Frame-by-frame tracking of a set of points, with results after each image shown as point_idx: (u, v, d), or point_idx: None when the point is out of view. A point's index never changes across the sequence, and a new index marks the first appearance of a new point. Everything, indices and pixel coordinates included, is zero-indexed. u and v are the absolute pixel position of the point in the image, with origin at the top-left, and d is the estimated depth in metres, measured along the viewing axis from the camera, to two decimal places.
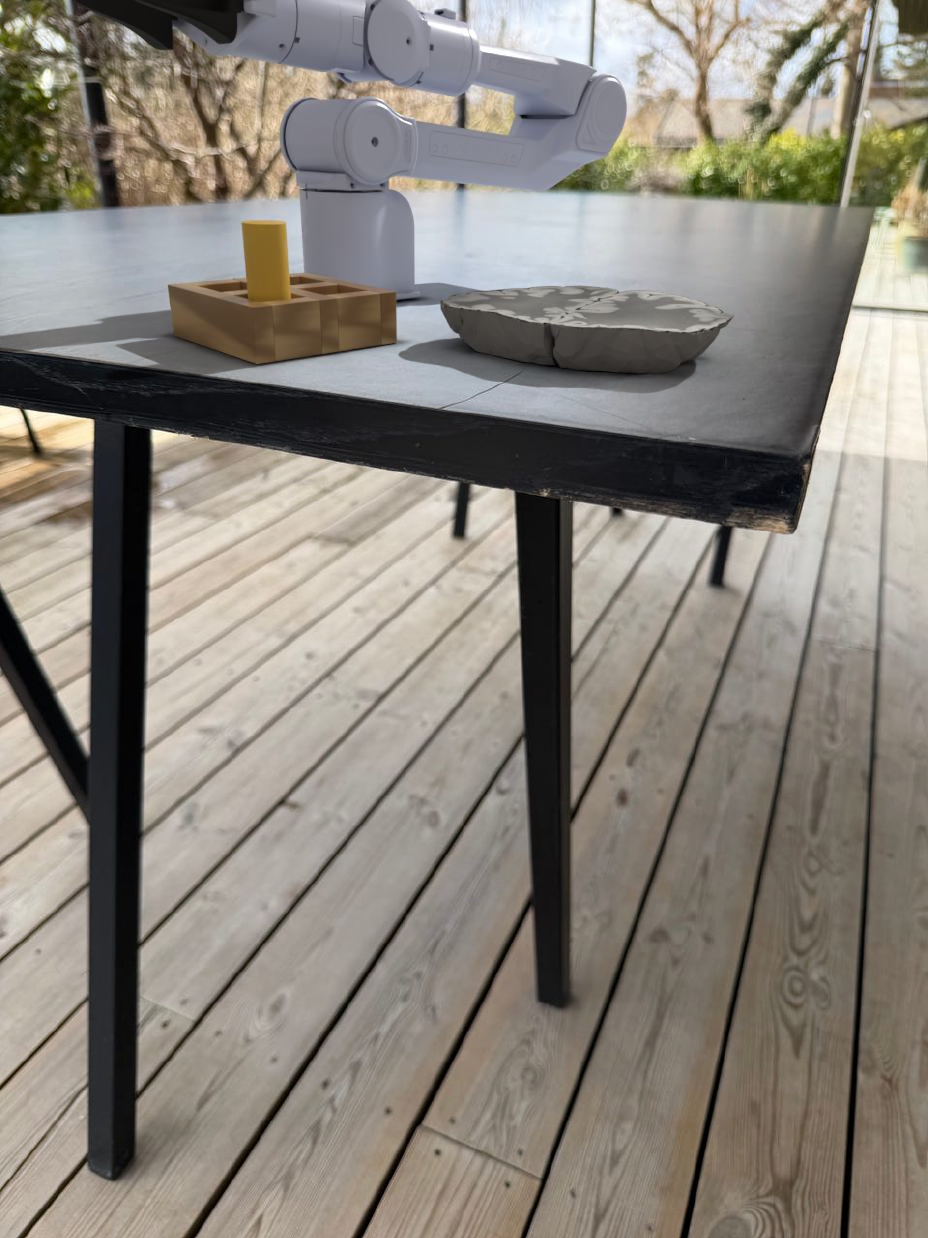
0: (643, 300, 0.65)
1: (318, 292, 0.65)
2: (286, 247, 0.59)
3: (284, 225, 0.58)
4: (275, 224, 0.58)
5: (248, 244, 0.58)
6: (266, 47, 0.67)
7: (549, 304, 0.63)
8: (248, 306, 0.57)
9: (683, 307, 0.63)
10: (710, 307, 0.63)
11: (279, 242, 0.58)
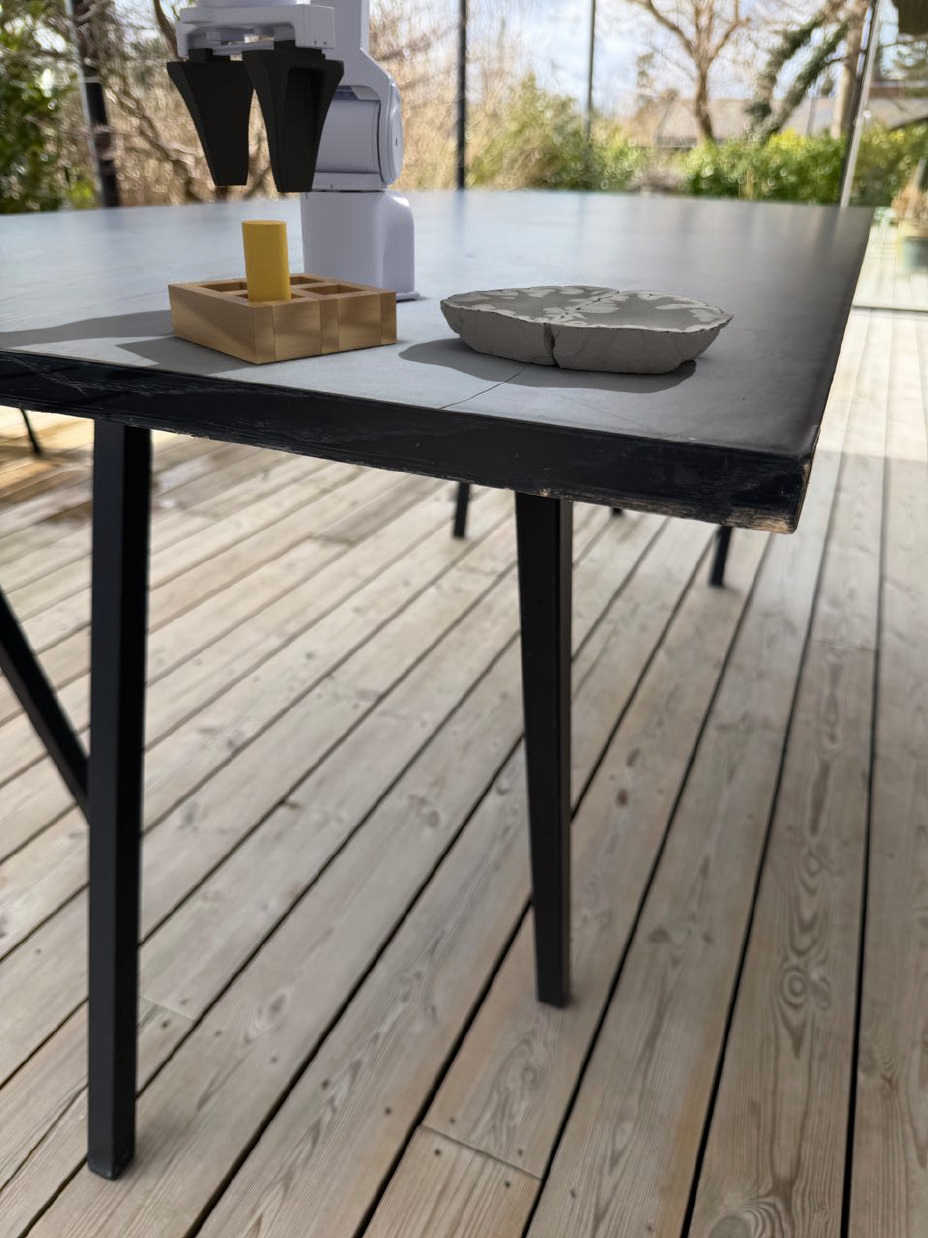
0: (643, 300, 0.65)
1: (318, 292, 0.65)
2: (286, 247, 0.59)
3: (284, 225, 0.58)
4: (275, 224, 0.58)
5: (248, 244, 0.58)
6: None
7: (549, 304, 0.63)
8: (248, 306, 0.57)
9: (683, 307, 0.63)
10: (710, 307, 0.63)
11: (279, 242, 0.58)
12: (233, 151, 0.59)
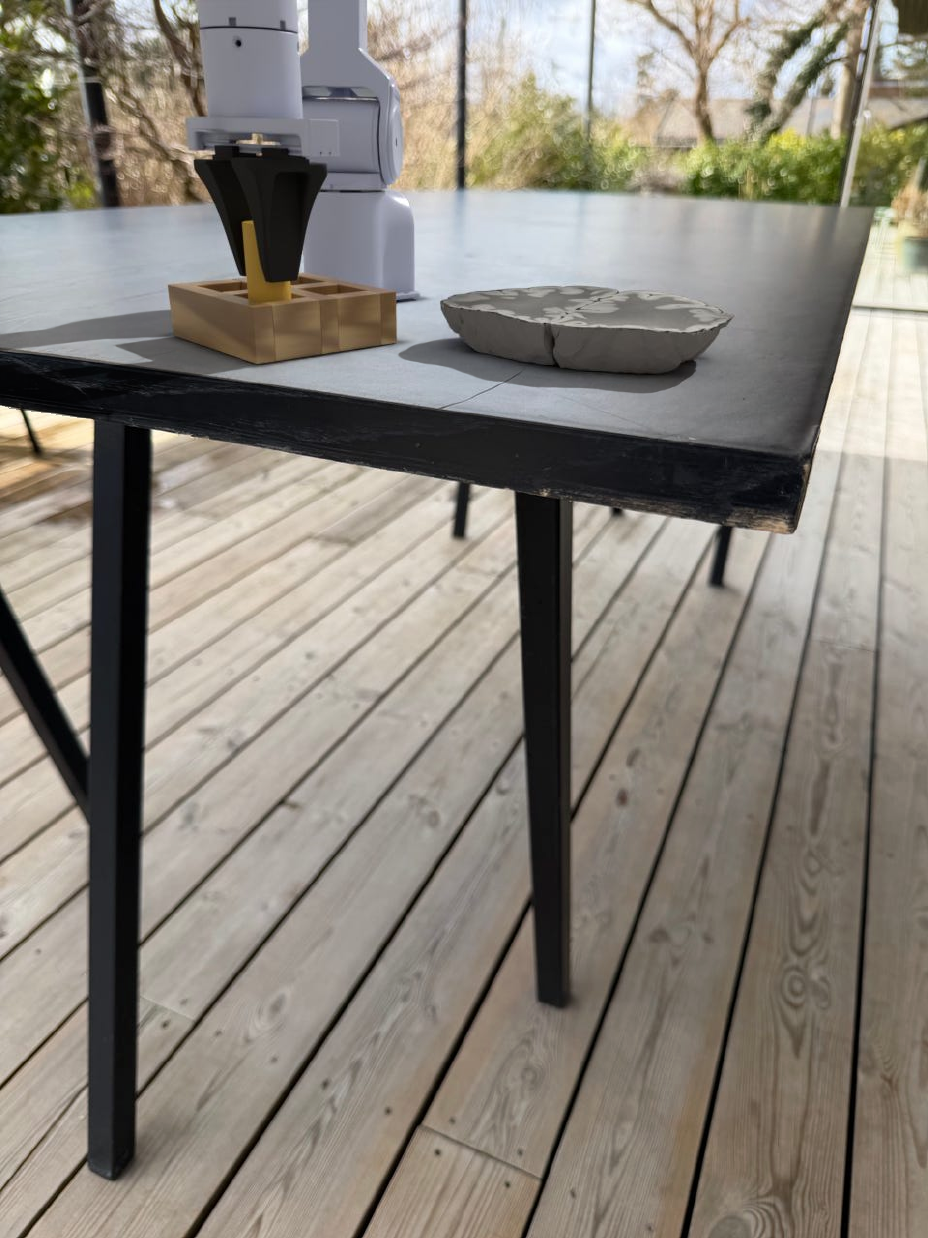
0: (643, 300, 0.65)
1: (318, 292, 0.65)
2: None
3: None
4: None
5: (248, 244, 0.58)
6: (300, 72, 0.55)
7: (549, 304, 0.63)
8: (248, 306, 0.57)
9: (683, 307, 0.63)
10: (710, 307, 0.63)
11: None
12: None
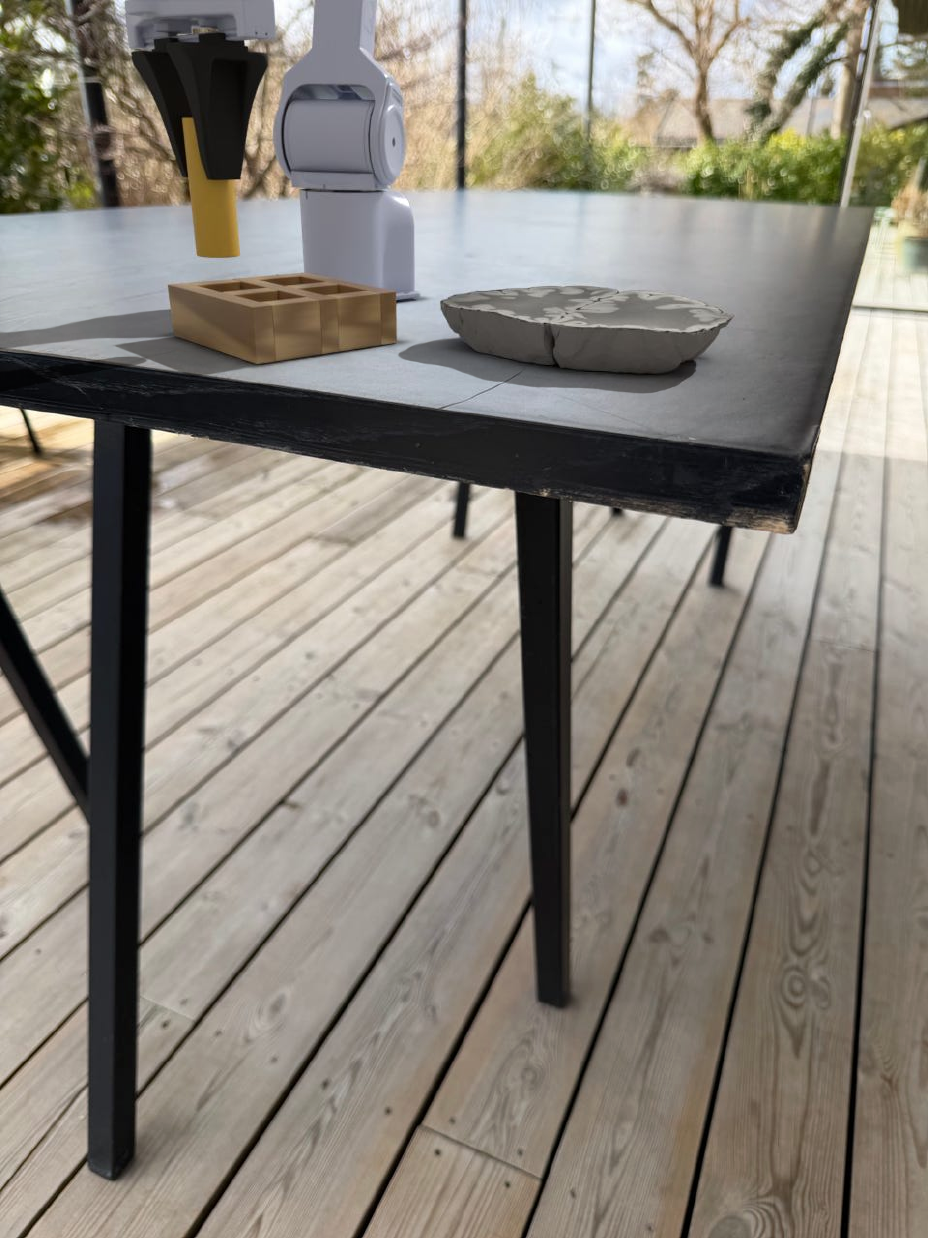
0: (643, 300, 0.65)
1: (318, 292, 0.65)
2: None
3: None
4: None
5: (189, 140, 0.56)
6: None
7: (549, 304, 0.63)
8: (248, 306, 0.57)
9: (683, 307, 0.63)
10: (710, 307, 0.63)
11: None
12: None
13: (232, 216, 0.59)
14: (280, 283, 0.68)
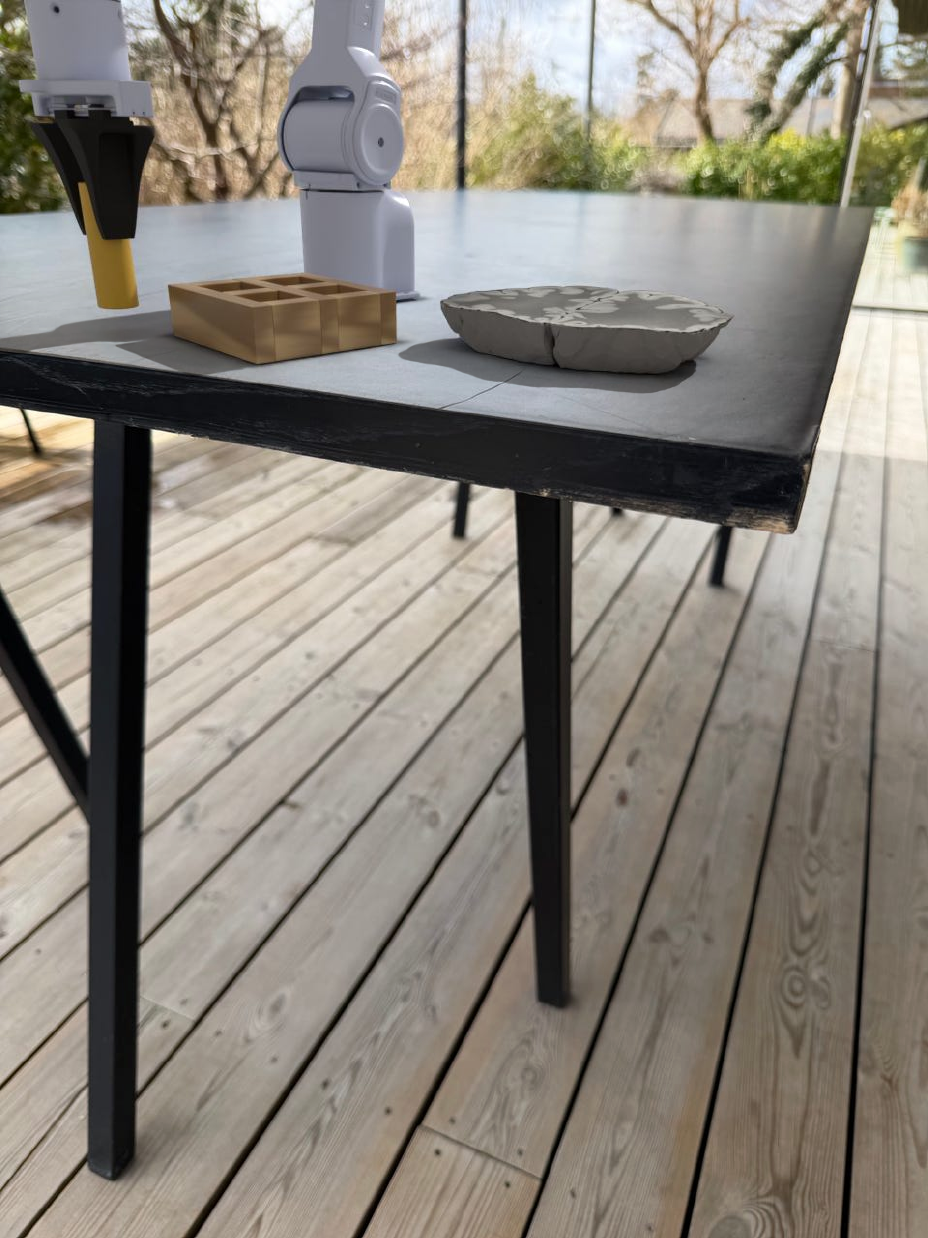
0: (643, 300, 0.65)
1: (318, 292, 0.65)
2: None
3: None
4: None
5: (84, 203, 0.61)
6: (124, 38, 0.58)
7: (549, 304, 0.63)
8: (248, 306, 0.57)
9: (683, 307, 0.63)
10: (710, 307, 0.63)
11: None
12: None
13: (128, 271, 0.64)
14: (280, 283, 0.68)
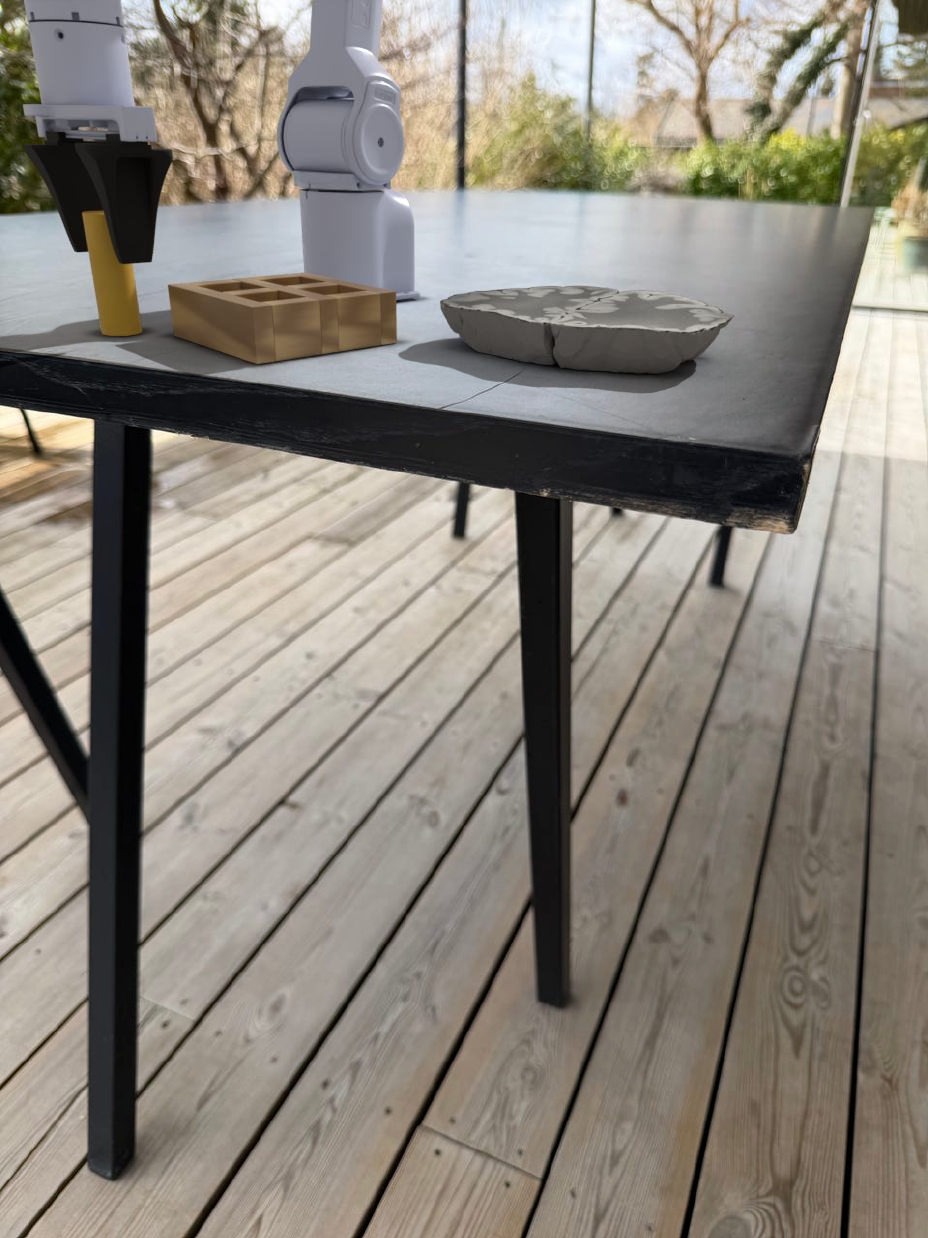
0: (643, 300, 0.65)
1: (318, 292, 0.65)
2: None
3: None
4: None
5: (88, 233, 0.62)
6: (127, 62, 0.58)
7: (549, 304, 0.63)
8: (248, 306, 0.57)
9: (683, 307, 0.63)
10: (710, 307, 0.63)
11: None
12: None
13: (132, 298, 0.65)
14: (280, 283, 0.68)
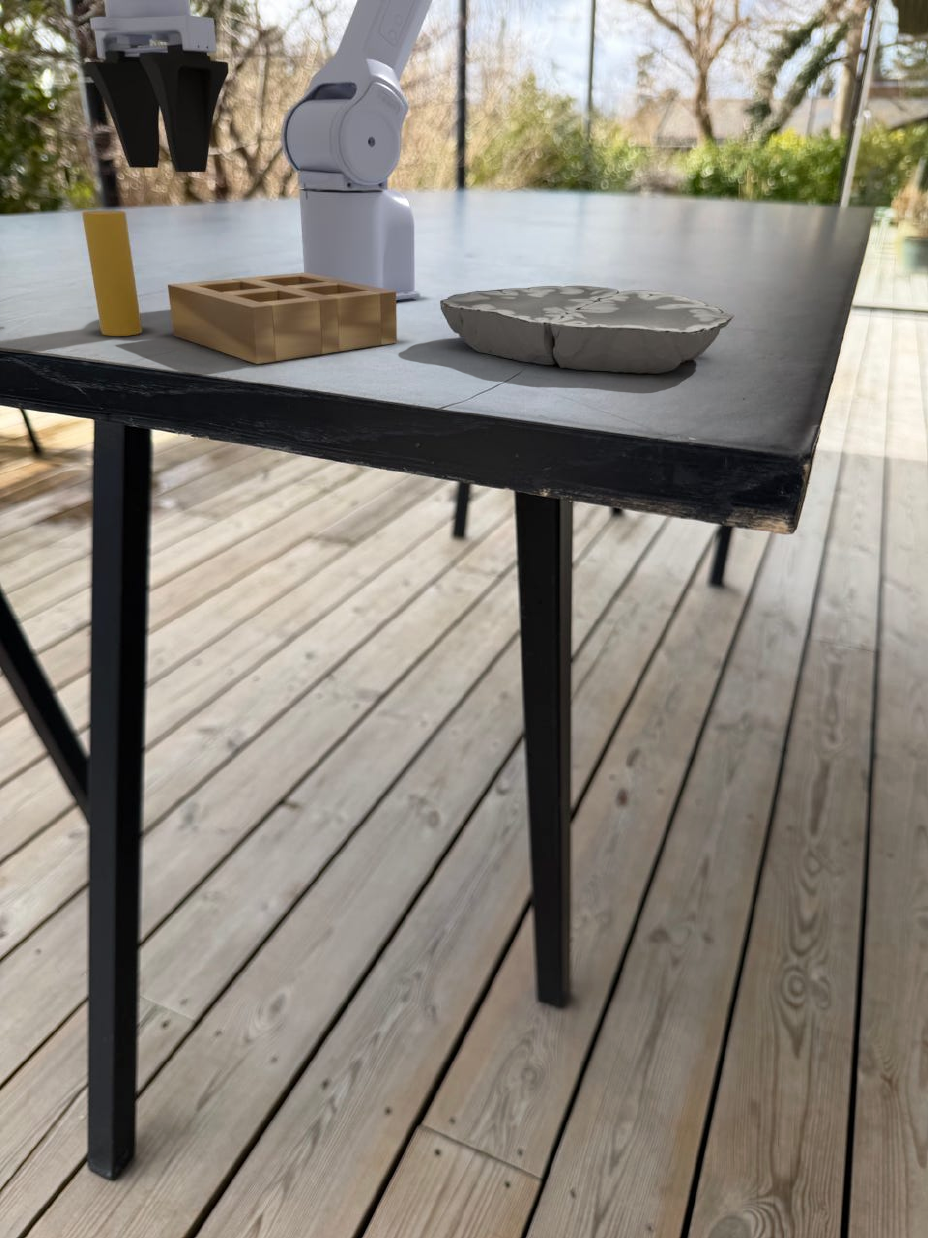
0: (643, 300, 0.65)
1: (318, 292, 0.65)
2: (126, 236, 0.63)
3: (122, 215, 0.62)
4: (112, 214, 0.62)
5: (88, 233, 0.62)
6: None
7: (549, 304, 0.63)
8: (248, 306, 0.57)
9: (683, 307, 0.63)
10: (710, 307, 0.63)
11: (117, 231, 0.62)
12: (145, 138, 0.70)
13: (132, 298, 0.65)
14: (280, 283, 0.68)
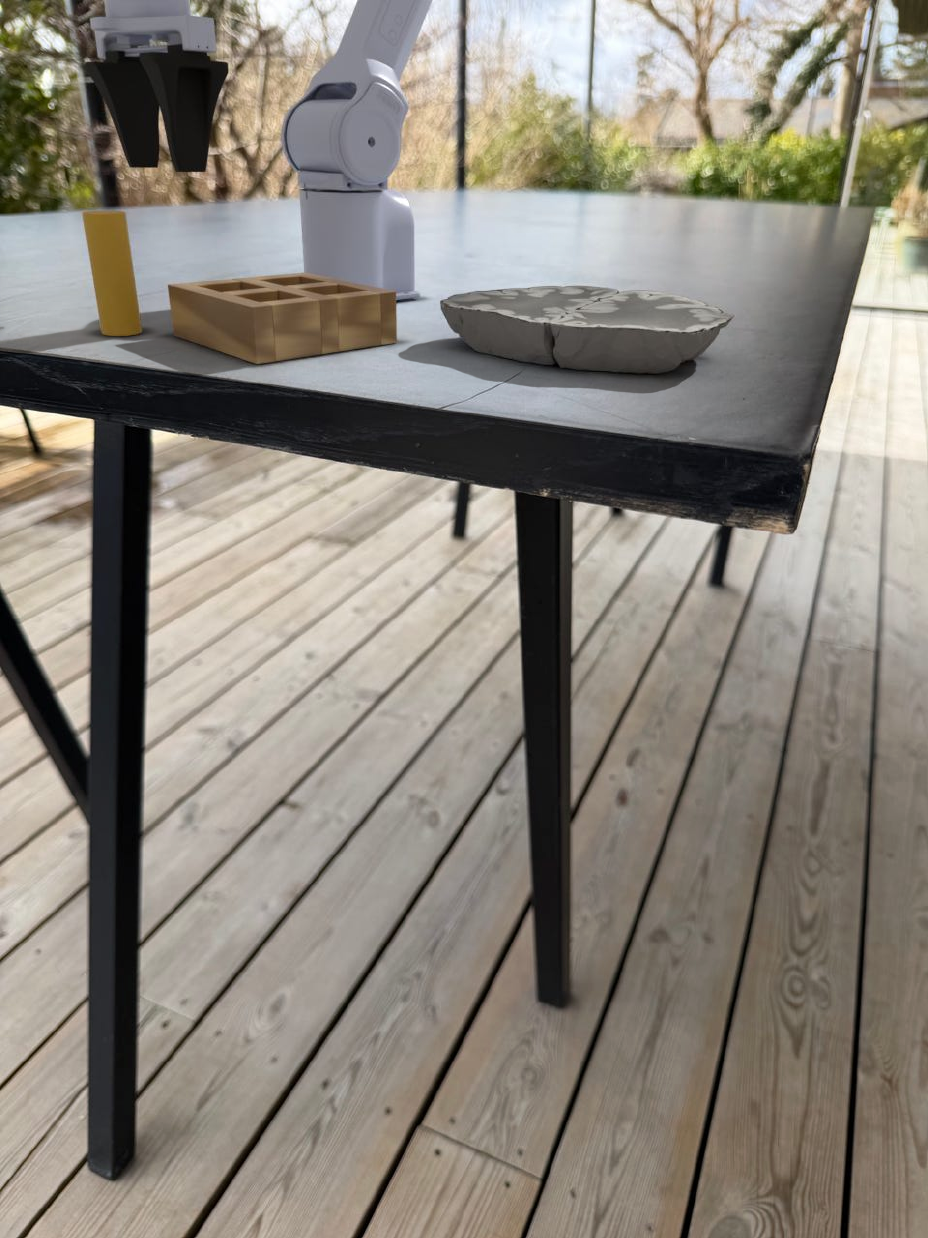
0: (643, 300, 0.65)
1: (318, 292, 0.65)
2: (126, 236, 0.63)
3: (122, 215, 0.62)
4: (112, 214, 0.62)
5: (88, 233, 0.62)
6: None
7: (549, 304, 0.63)
8: (248, 306, 0.57)
9: (683, 307, 0.63)
10: (710, 307, 0.63)
11: (117, 231, 0.62)
12: (145, 138, 0.70)
13: (132, 298, 0.65)
14: (280, 283, 0.68)
